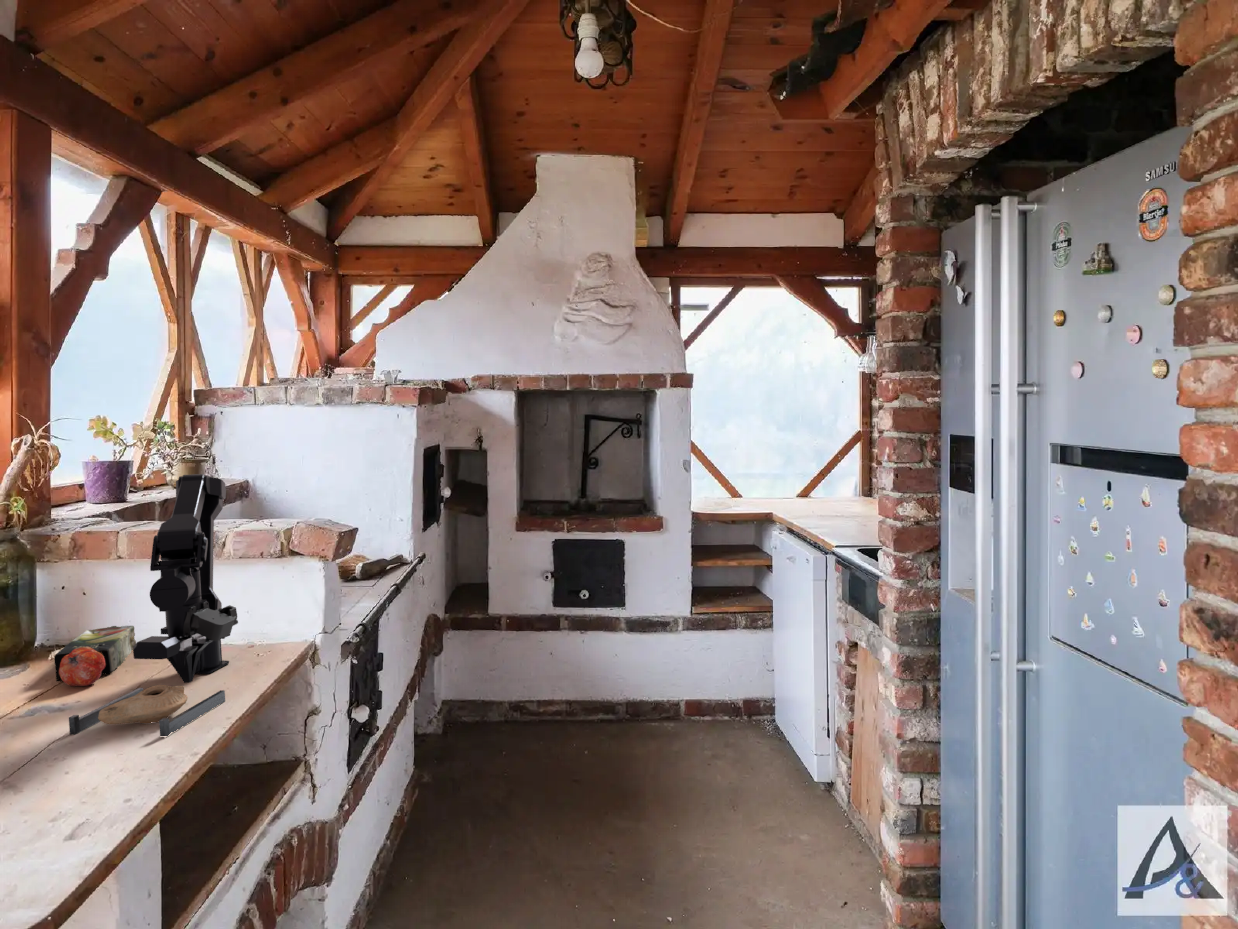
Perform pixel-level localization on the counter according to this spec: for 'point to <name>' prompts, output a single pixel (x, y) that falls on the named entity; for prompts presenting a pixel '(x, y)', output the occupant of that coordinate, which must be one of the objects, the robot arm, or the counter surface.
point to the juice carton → (102, 646)
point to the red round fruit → (81, 667)
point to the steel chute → (165, 724)
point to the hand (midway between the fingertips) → (188, 682)
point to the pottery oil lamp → (145, 706)
